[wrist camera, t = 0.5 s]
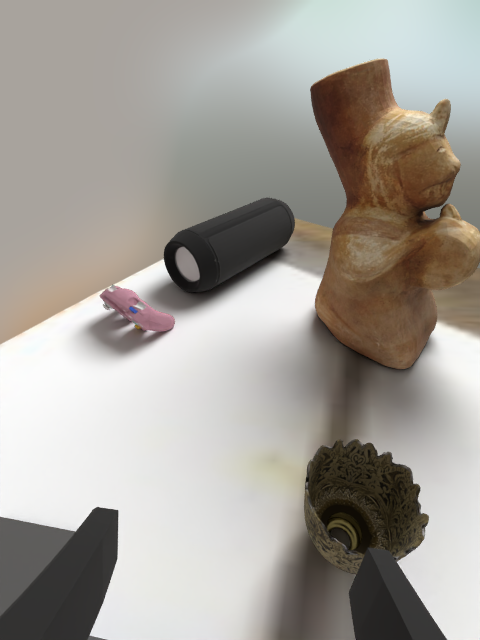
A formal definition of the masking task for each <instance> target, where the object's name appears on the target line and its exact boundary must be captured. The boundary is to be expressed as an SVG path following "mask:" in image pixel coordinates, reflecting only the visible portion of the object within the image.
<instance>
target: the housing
mask: <svg viewBox="0 0 480 640" xmlns="http://www.w3.org/2000/svg"><path fill="white" fill-rule="evenodd" d="M88 640H106V639H101V638H97V637H93V636H89V637H88Z"/></svg>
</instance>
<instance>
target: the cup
mask: <svg viewBox="0 0 480 640" xmlns="http://www.w3.org/2000/svg"><path fill="white" fill-rule="evenodd" d="M392 459H393V458H392V453H391V452H384V453H382V455H380V456H378V453H377V450H375V448H374V446H373V444H372V443H366V444H365V445H364V444H363V445H362V443H361V442H360V441H359V440H358V439H355V440H352V441H351V442H349V443H348V444H347V445H346V446H345V447H343V441H342V440H341V439H340V440H337V441H336V442H335V444H334V446H333V447H328V446H326V445H323V446H321V447H320V448H319V449H318V451H317V452H316V454H315V456H314V458H313V460H310V461H309V463H308V467H307V477H306V482H305V500H304V512H305V521H306V526H307V529H308V532H309V535H310V537H311V540H312V542H313V543H314V545H315V547H316V548H317V549H318V551H319V552H320V553H321V554H322V556H323V557H324V558H325V559H326V560H328V561H329V562H330V563H331V564H333V565H334V566H336V567H337V568H339V569H341V570H343V571H346V572H349V573H354V574H357V572H358V570H359V567H360V565H361V562H362V560H363V558H364V555H365V553H366V550H367V548H368V547H369V548H376V549H382V550H389V551H390V553H391V554H392V556H393V557H394V559H395V560H396V562H397V561H398V560H400V559H401V558H403V557H405V556H406V555H408V554H409V553H410V552H412V551H413V550H415V549H416V548H417V547H418V546H419V545H420V544H421V542H422V541H423V540H424V537H425V527H426V526H427V524H428V520H429V516H428V515H427V514H424V513H422V514H421V512H420V509H421V505H420V503H419V502H418V495H419V492H420V486H419V485H418V484H413V476H412V471H411V469H410V468H409V467H407V466H405V465H401V464H395V463H393V462H392ZM334 528H341V529H343V530H344V531H346V532H347V534H348V535H349V537H350V541H351V544H350V547H349V549H347V547H346V545H344V544H343V543H341V542H339V541H338V540H337V539H336V538H334V537H332V536H331V535H330V532H331V530H332V529H334Z"/></svg>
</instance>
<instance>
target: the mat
mask: <svg viewBox="0 0 480 640" xmlns="http://www.w3.org/2000/svg"><path fill="white" fill-rule="evenodd" d="M74 533H75V532H74V531H69V530H64V529H59V528H54V527H49V526H44V525H39V524H34V523H29V522H24V521H19V520H14V519H8V518H3V517H0V616H1V615H2V614H3V613H4V612H5V611H6V610H7V609H8V608H9V607H10V606H11V605H12V604H13V602H14V601H15V600H16V599H17V598H18V597H19V596H20V595H21V594H22V593H23V592H24V591H25V590H26V589H27V588H28V586H29V585H30V584H31V583H32V582H33V581H34V580H35V579H36V577H37V576H38V575H39V574H40V573H41V572H42V571H43V570H44V568H45V567H46V566H47V565H48V564H49V563H50V562H51V561H52V559H53V558H54V557H55V556H56V555H57V554H58V552H59V551H60V550H61V549H62V548H63V547H64V545H65V544H66V543H67V542H68V541H69V539H70V538H71V537H72V536H73V535H74Z"/></svg>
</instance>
